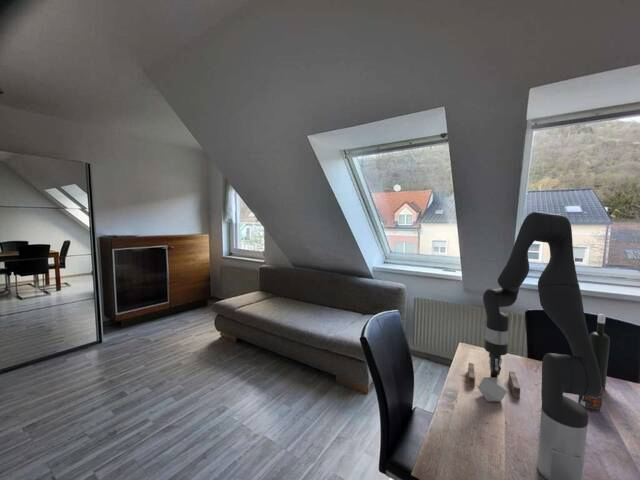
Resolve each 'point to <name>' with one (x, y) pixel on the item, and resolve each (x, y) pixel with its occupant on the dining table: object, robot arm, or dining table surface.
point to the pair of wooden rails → (512, 380)
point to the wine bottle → (601, 347)
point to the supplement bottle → (591, 402)
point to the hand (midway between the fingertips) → (493, 381)
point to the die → (492, 389)
